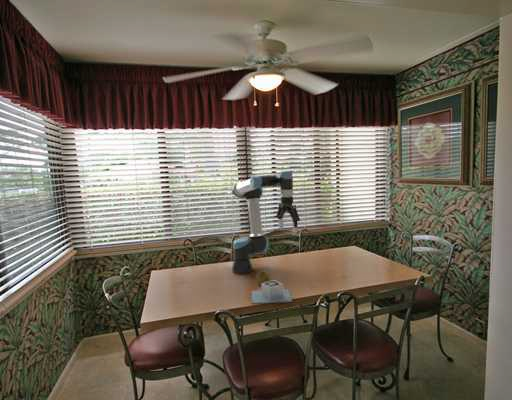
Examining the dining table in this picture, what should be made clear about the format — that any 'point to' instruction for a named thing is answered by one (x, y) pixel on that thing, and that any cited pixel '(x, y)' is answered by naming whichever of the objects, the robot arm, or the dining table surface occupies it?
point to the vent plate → (259, 298)
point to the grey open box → (272, 290)
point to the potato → (263, 276)
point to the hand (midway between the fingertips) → (287, 230)
